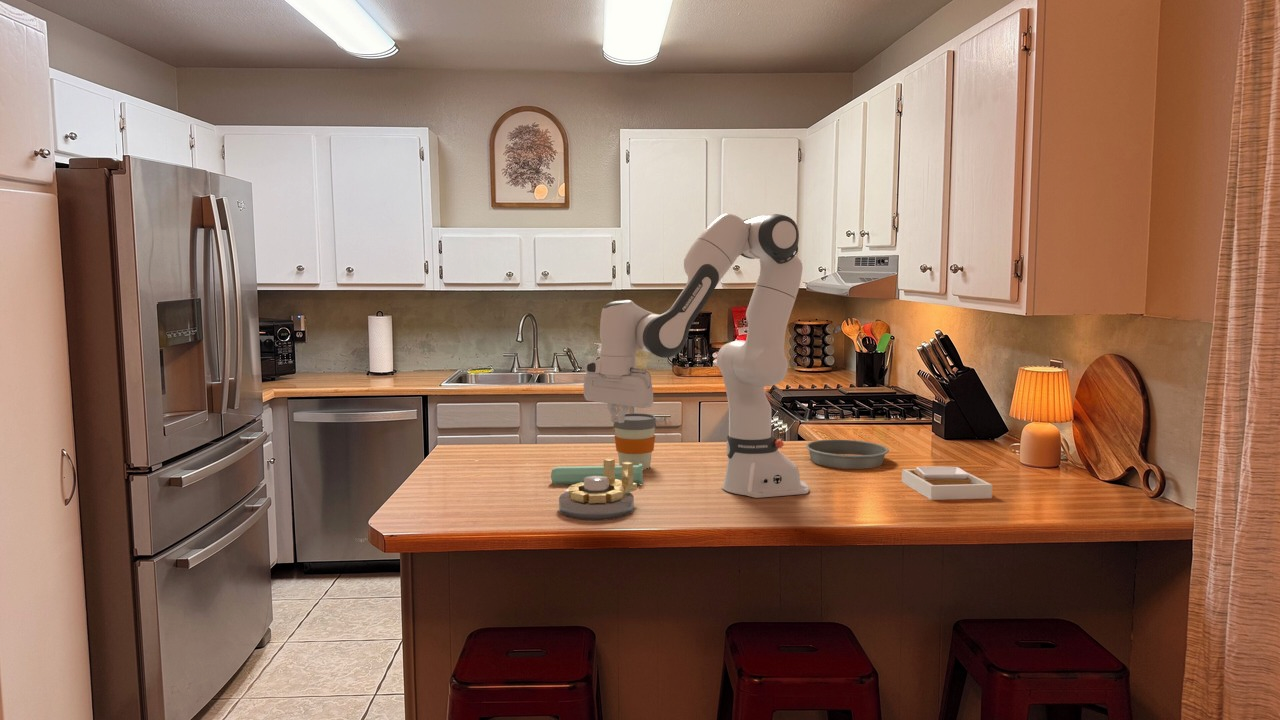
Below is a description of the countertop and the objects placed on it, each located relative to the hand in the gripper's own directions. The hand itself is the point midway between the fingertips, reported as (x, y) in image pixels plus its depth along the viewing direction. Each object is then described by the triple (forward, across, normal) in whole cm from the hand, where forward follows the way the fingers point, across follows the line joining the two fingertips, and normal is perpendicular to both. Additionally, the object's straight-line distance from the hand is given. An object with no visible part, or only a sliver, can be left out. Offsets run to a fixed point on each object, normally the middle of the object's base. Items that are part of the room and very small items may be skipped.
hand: (617, 422), depth 202 cm
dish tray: (+20, -59, -64) cm, 89 cm away
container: (+21, +17, -10) cm, 29 cm away
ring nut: (+17, 0, +6) cm, 18 cm away
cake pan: (+20, -23, -79) cm, 85 cm away
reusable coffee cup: (+20, +21, -32) cm, 43 cm away
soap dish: (+20, -57, -65) cm, 89 cm away
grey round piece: (+20, 0, +8) cm, 22 cm away
